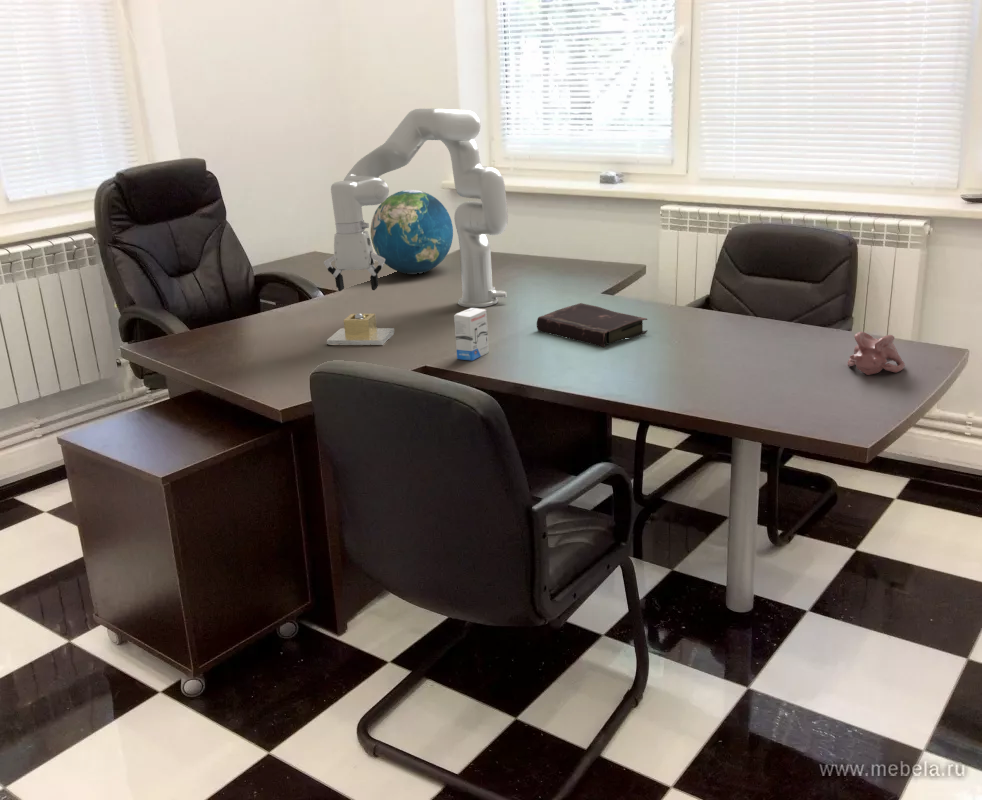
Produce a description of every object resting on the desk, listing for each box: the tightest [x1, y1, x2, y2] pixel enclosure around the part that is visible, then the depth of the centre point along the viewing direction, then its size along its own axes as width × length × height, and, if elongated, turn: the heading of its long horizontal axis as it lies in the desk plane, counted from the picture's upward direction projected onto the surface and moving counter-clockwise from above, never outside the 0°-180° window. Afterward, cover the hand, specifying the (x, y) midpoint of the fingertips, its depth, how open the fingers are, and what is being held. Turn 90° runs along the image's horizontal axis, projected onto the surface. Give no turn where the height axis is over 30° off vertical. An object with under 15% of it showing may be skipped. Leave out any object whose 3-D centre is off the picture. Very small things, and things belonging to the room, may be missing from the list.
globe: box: [370, 189, 454, 275], centre depth 337 cm, size 30×30×30 cm
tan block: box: [343, 313, 378, 338], centre depth 261 cm, size 7×7×5 cm
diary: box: [536, 302, 648, 348], centre depth 257 cm, size 19×25×5 cm
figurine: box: [847, 331, 906, 376], centre depth 214 cm, size 12×10×15 cm
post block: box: [326, 313, 395, 346], centre depth 261 cm, size 16×12×8 cm
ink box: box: [453, 307, 490, 361], centre depth 240 cm, size 9×5×12 cm, turn 148°
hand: (357, 289), depth 258 cm, fingers open, 9 cm apart
